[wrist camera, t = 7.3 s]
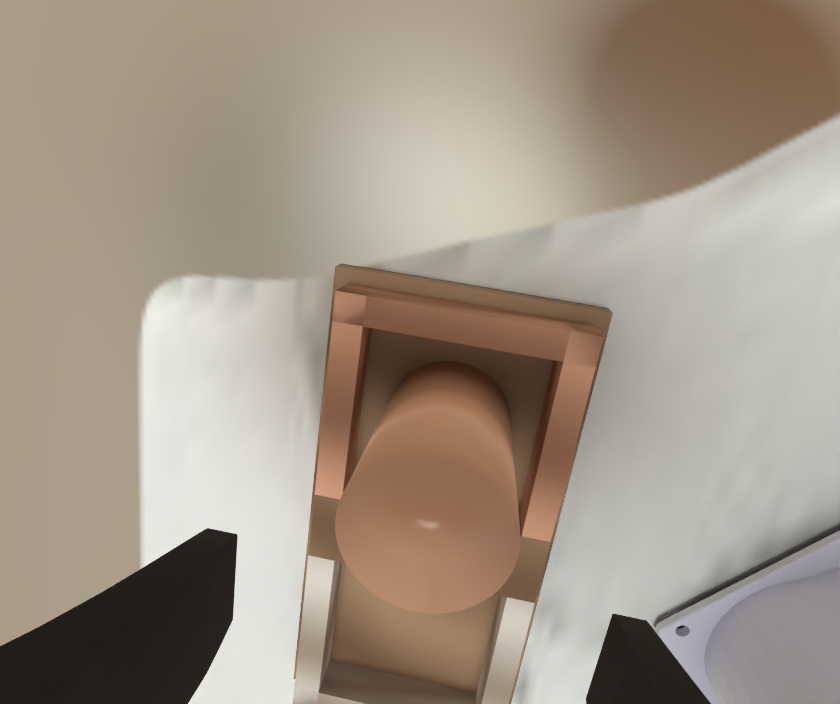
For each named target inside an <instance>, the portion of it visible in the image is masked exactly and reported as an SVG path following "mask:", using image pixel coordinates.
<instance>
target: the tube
mask: <svg viewBox="0 0 840 704" xmlns="http://www.w3.org/2000/svg"><path fill="white" fill-rule="evenodd" d="M335 533H336V540H337V544H338V547H339V550H340V553H341V555H342V557H343V560H344V562H345V563H346V565H347V567H348V568H349V570H350V571H351V573H352V574H353V575H354V576H355V578H356V579H357V580H358V581H359V582H360V583H361V584H362V585H363V586H364V587H365V588H367V589H368V590H369V591H370V592H372V593H373V594H374V595H376V596H378V597H379V598H381V599H382V600H384V601H386V602H388V603H390V604H393V605H395V606H398V607H400V608H403V609H406V610H411V611H415V612H421V613H437V614H441V613H451V612H456V611H460V610H464V609H467V608H470V607H473V606H475V605H477V604H479V603H481V602H483V601H485V600H486V599H488V598H489V597H491V596H492V595H493V594H495V593H496V592H497V591H498V590H499V589H500V588H501V587H502V586H503V585H504V584H505V582H506V581H507V580H508V578H509V577H510V575H511V574H512V572H513V570H514V568H515V565H516V563H517V560H518V556H519V552H520V544H521V535H520V522H519V511H518V500H517V489H516V478H515V467H514V456H513V445H512V434H511V423H510V412H509V407H508V404H507V401H506V398H505V396H504V394H503V392H502V390H501V389H500V388H499V386H498V385H497V384H496V383H495V381H494V380H493V379H492V378H491V377H489V376H488V375H487V374H486V373H484V372H483V371H481V370H479V369H478V368H475V367H473V366H471V365H468V364H465V363H461V362H456V361H438V362H433V363H429V364H426V365H423V366H421V367H419V368H417V369H415V370H414V371H412V372H411V373H409V374H408V375H407V376H406V377H405V378H404V379H403V380H402V381H401V382H400V383H399V385H398V386H397V388H396V389H395V391H394V393H393V395H392V397H391V399H390V401H389V403H388V405H387V407H386V409H385V411H384V413H383V415H382V417H381V419H380V421H379V423H378V425H377V427H376V429H375V431H374V433H373V435H372V437H371V438H370V440H369V442H368V444H367V446H366V448H365V450H364V452H363V454H362V456H361V458H360V460H359V462H358V464H357V466H356V468H355V470H354V472H353V474H352V476H351V478H350V480H349V482H348V484H347V486H346V488H345V490H344V492H343V494H342V496H341V498H340V501H339V504H338V507H337V511H336V518H335Z"/></svg>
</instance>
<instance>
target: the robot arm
mask: <svg viewBox="0 0 840 704" xmlns="http://www.w3.org/2000/svg"><path fill="white" fill-rule="evenodd" d="M236 551H237V534H233V533H228V532H223V531H218V530H214V529H209V528H207V529H206V530H204V531H202V532H200V533H199V534H197V535H195V536H194V537H192V538H190V539H189V540H187V541H186V542H184V543H182V544H181V545H179V546H178V547H176V548H174V549H173V550H171V551H170V552H168V553H166V554H165V555H163V556H161V557H160V558H158V559H157V560H155V561H153V562H152V563H150V564H148V565H147V566H145V567H144V568H142V569H140V570H139V571H137V572H135V573H134V574H132V575H130V576H129V577H127V578H125V579H124V580H122V581H120V582H119V583H117V584H115V585H114V586H112V587H110V588H109V589H107V590H105V591H104V592H102V593H100V594H98V595H96V596H95V597H93V598H91V599H89V600H87V601H85V602H83V603H82V604H80V605H78V606H77V607H74V608H73V609H71V610H69V611H67V612H65V613H64V614H62V615H60V616H58V617H56V618H55V619H53V620H51V621H49V622H47V623H45V624H44V625H42V626H40V627H38V628H36V629H34V630H32V631H30V632H28V633H26V634H24V635H22V636H20V637H18V638H16V639H14V640H12V641H10V642H8V643H6V644H4V645H2V646H0V704H188V702H189V701H190V699H191V698H192V696H193V694H194V693H195V691H196V690H197V688H198V686H199V685H200V683H201V682H202V680H203V678H204V677H205V675H206V673H207V671H208V669H209V667H210V665H211V663H212V661H213V659H214V657H215V655H216V653H217V651H218V649H219V647H220V645H221V643H222V641H223V639H224V637H225V635H226V633H227V630H228V628H229V626H230V624H231V622H232V620H233V605H234V587H235V569H236ZM682 625H683V626H685V627H683V628H681V629H677V627H678V626H682ZM586 703H587V704H840V530H839V531H837V532H835V533H833V534H831V535H829V536H827V537H826V538H824V539H822V540H820V541H818V542H816V543H814V544H812V545H810V546H808V547H806V548H804V549H802V550H800V551H798V552H796V553H794V554H792V555H790V556H788V557H786V558H784V559H782V560H780V561H778V562H776V563H774V564H772V565H770V566H768V567H767V568H765V569H763V570H761V571H759V572H757V573H755V574H753V575H751V576H749V577H747V578H745V579H743V580H741V581H739V582H737V583H735V584H733V585H731V586H729V587H727V588H725V589H723V590H721V591H719V592H717V593H715V594H713V595H711V596H710V597H708V598H706V599H704V600H702V601H700V602H698V603H696V604H694V605H692V606H690V607H688V608H686V609H684V610H682V611H680V612H678V613H676V614H674V615H672V616H670V617H668V618H666V619H664V620H662V621H661V622H659V623H658V624H657V626H656V627H655V631H654V629H653V628H652V627H651V626H650V624H649V623H648V622H647V621H645V620H641V619H636V618H631V617H626V616H622V615H617V614H612V618H611V621H610V624H609V627H608V630H607V634H606V637H605V640H604V643H603V646H602V649H601V653H600V656H599V659H598V662H597V665H596V669H595V672H594V675H593V678H592V681H591V684H590V688H589V691H588V694H587V697H586Z"/></svg>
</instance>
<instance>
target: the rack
mask: <svg viewBox="0 0 840 704" xmlns="http://www.w3.org/2000/svg"><path fill="white" fill-rule="evenodd" d="M611 317H612V312H611V311H610V310H609V309H608V308H603V307H597V306H591V305H585V304H579V303H573V302H567V301H561V300H555V299H549V298H543V297H537V296H531V295H525V294H519V293H513V292H507V291H501V290H495V289H489V288H483V287H477V286H472V285H466V284H460V283H454V282H448V281H442V280H436V279H430V278H424V277H418V276H412V275H406V274H400V273H394V272H388V271H382V270H376V269H370V268H364V267H358V266H352V265H346V264H340V265H338V266H336V267H335V277H334V287H333V297H332V307H331V317H330V326H329V336H328V346H327V356H326V366H325V376H324V386H323V395H322V405H321V415H320V425H319V435H318V445H317V454H316V464H315V474H314V484H313V494H312V504H311V514H310V523H309V533H308V543H307V553H306V563H305V573H304V582H303V592H302V602H301V612H300V622H299V632H298V642H297V651H296V661H295V671H294V679H296V680H295V689H294V699H293V704H511V701H512V697H513V693H514V689H515V686H516V682H517V678H518V674H519V670H520V666H521V663H522V659H523V655H524V651H525V647H526V643H527V640H528V636H529V632H530V628H531V624H532V620H533V617H534V613H535V609H536V605H537V601H538V597H539V594H540V590H541V586H542V582H543V578H544V574H545V571H546V567H547V563H548V559H549V555H550V551H551V547H552V544H553V540H554V536H555V532H556V528H557V524H558V521H559V517H560V513H561V509H562V505H563V501H564V498H565V494H566V490H567V486H568V482H569V478H570V475H571V471H572V467H573V463H574V459H575V455H576V452H577V448H578V444H579V440H580V436H581V432H582V429H583V425H584V421H585V417H586V413H587V409H588V406H589V402H590V398H591V394H592V390H593V386H594V383H595V379H596V375H597V371H598V367H599V363H600V360H601V356H602V352H603V348H604V344H605V340H606V337H607V333H608V329H609V325H610V321H611ZM438 361H456V362H461V363H465V364H468V365H471V366H473V367H475V368H478V369H479V370H481V371H483V372H484V373H486V374H487V375H488V376H489V377H491V378H492V379H493V380H494V381H495V383H496V384H497V385H498V386H499V388H500V389H501V390H502V392H503V394H504V396H505V398H506V401H507V404H508V407H509V412H510V423H511V434H512V445H513V456H514V467H515V478H516V489H517V500H518V511H519V522H520V535H521V544H520V552H519V556H518V560H517V563H516V565H515V568H514V570H513V572H512V574H511V575H510V577H509V578H508V580H507V581H506V582H505V584H504V585H503V586H502V587H501V588H500V589H499V590H498V591H497V592H496V593H495V594H493V595H492V596H491V597H489V598H488V599H486V600H485V601H483V602H481V603H479V604H477V605H475V606H473V607H470V608H467V609H464V610H460V611H456V612H451V613H441V614H437V613H421V612H415V611H411V610H406V609H403V608H400V607H398V606H395V605H393V604H390V603H388V602H386V601H384V600H382V599H381V598H379V597H378V596H376V595H374V594H373V593H372V592H370V591H369V590H368V589H367V588H365V587H364V586H363V585H362V584H361V583H360V582H359V581H358V580H357V579H356V578H355V576H354V575H353V574H352V573H351V571H350V570H349V568H348V567H347V565H346V563H345V562H344V560H343V557H342V555H341V553H340V550H339V547H338V544H337V540H336V533H335V518H336V511H337V507H338V504H339V501H340V498H341V496H342V494H343V492H344V490H345V488H346V486H347V484H348V482H349V480H350V478H351V476H352V474H353V472H354V470H355V468H356V466H357V464H358V462H359V460H360V458H361V456H362V454H363V452H364V450H365V448H366V446H367V444H368V442H369V440H370V438H371V437H372V435H373V433H374V431H375V429H376V427H377V425H378V423H379V421H380V419H381V417H382V415H383V413H384V411H385V409H386V407H387V405H388V403H389V401H390V399H391V397H392V395H393V393H394V391H395V389H396V388H397V386H398V385H399V383H400V382H401V381H402V380H403V379H404V378H405V377H406V376H407V375H408V374H409V373H411V372H412V371H414V370H415V369H417V368H419V367H421V366H423V365H426V364H429V363H433V362H438Z"/></svg>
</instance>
